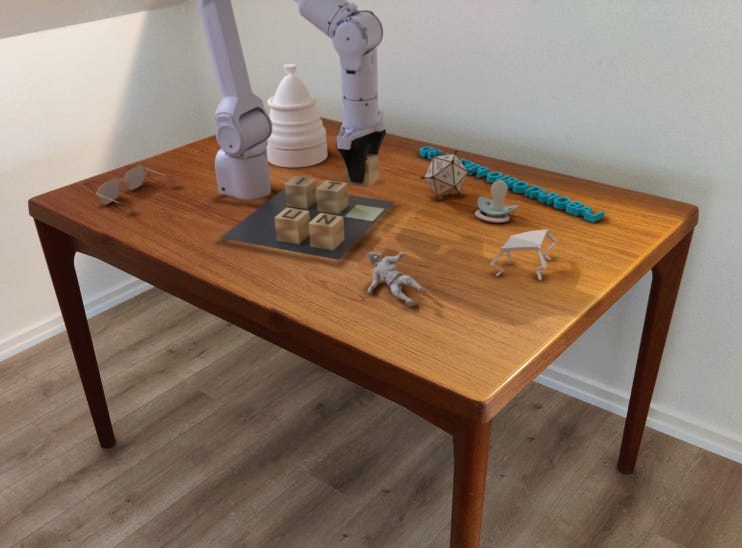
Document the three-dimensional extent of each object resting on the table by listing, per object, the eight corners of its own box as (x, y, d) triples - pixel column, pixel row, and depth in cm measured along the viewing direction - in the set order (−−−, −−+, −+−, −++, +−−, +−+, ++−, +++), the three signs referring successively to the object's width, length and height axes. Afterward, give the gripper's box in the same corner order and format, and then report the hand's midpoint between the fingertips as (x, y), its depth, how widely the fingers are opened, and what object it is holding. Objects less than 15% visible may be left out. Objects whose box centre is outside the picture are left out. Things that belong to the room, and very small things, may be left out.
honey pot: (267, 147, 161) (257, 61, 150) (325, 144, 162) (320, 58, 151) (266, 169, 150) (257, 78, 140) (329, 165, 151) (324, 74, 141)
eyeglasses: (146, 181, 146) (144, 162, 144) (179, 190, 144) (177, 171, 141) (98, 208, 136) (94, 188, 133) (132, 218, 133) (129, 198, 131)
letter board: (220, 243, 123) (215, 214, 120) (288, 190, 141) (285, 163, 138) (338, 265, 116) (337, 235, 113) (394, 206, 134) (394, 179, 130)
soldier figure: (392, 320, 104) (343, 267, 109) (406, 327, 108) (358, 276, 114) (429, 279, 103) (377, 228, 108) (442, 288, 107) (391, 238, 112)
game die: (452, 217, 138) (468, 188, 129) (410, 199, 138) (423, 169, 128) (466, 180, 141) (483, 149, 132) (425, 162, 141) (439, 130, 132)
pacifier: (504, 228, 125) (520, 215, 129) (507, 194, 122) (523, 181, 125) (467, 218, 129) (484, 205, 133) (468, 185, 125) (485, 173, 129)
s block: (346, 184, 125) (345, 160, 122) (356, 175, 128) (355, 151, 125) (369, 187, 123) (368, 163, 121) (378, 178, 127) (378, 154, 124)
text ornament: (603, 217, 127) (604, 211, 127) (593, 222, 126) (594, 216, 125) (427, 150, 156) (427, 145, 156) (417, 154, 155) (417, 149, 154)
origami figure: (535, 290, 108) (538, 261, 105) (485, 274, 112) (488, 245, 109) (571, 259, 115) (575, 231, 113) (523, 245, 120) (526, 217, 117)
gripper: (364, 111, 111) (367, 196, 118) (399, 86, 121) (399, 165, 129) (322, 106, 113) (327, 190, 121) (360, 82, 124) (363, 160, 132)
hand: (362, 177), depth 125 cm, fingers closed on s block, 4 cm apart
